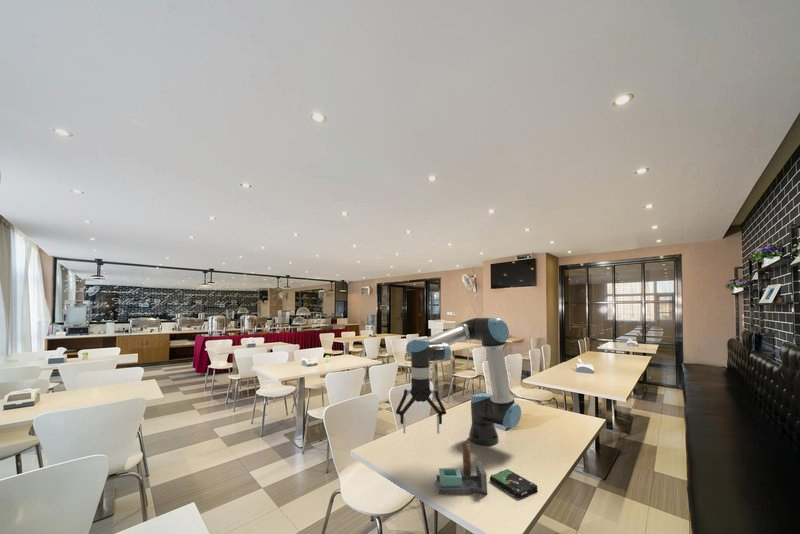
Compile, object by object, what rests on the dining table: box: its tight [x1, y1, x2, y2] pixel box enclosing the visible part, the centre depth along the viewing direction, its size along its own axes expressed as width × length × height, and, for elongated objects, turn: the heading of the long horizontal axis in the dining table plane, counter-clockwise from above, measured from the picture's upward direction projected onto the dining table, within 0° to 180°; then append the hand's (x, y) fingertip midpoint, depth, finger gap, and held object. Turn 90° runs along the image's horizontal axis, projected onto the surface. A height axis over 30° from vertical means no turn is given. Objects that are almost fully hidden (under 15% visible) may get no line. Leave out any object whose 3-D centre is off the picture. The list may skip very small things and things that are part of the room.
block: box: [438, 467, 462, 487], centre depth 123 cm, size 8×7×4 cm
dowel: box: [461, 442, 472, 475], centre depth 132 cm, size 3×3×12 cm
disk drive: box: [489, 468, 538, 500], centre depth 123 cm, size 10×3×15 cm
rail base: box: [436, 461, 488, 495], centre depth 123 cm, size 18×10×7 cm, turn 88°
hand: (421, 432), depth 128 cm, fingers open, 13 cm apart
